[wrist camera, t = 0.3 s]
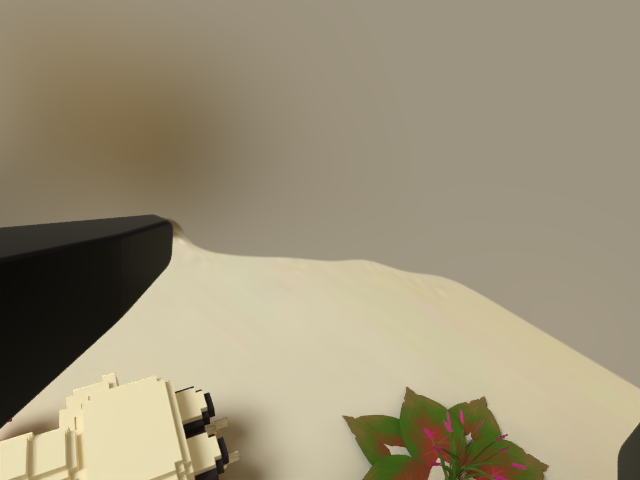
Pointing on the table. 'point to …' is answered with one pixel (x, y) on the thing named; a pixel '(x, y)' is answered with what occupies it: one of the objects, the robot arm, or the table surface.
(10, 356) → the robot arm
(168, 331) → the table surface
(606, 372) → the table surface
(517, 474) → the lily flower
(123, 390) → the cat figure
